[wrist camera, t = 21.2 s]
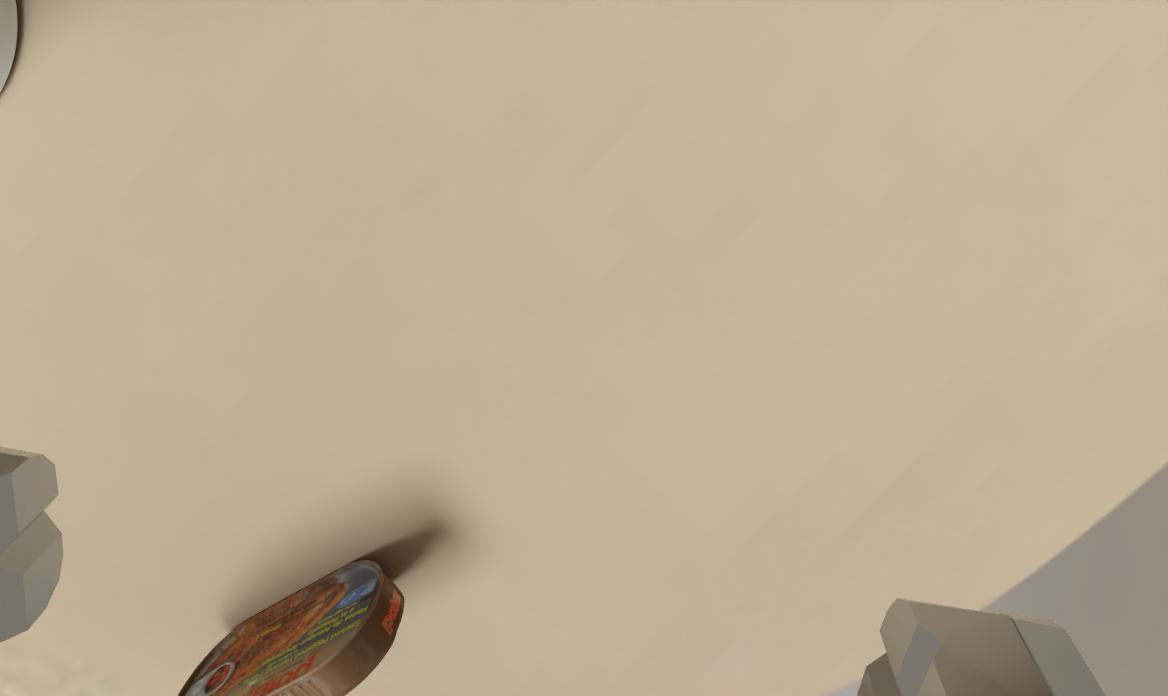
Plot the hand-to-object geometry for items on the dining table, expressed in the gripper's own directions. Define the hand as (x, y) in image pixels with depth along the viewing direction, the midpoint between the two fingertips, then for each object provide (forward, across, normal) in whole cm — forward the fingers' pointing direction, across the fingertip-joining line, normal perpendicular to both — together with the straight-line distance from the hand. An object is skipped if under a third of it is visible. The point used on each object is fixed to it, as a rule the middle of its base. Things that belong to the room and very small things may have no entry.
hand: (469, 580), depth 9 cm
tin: (+37, +12, +34) cm, 52 cm away
